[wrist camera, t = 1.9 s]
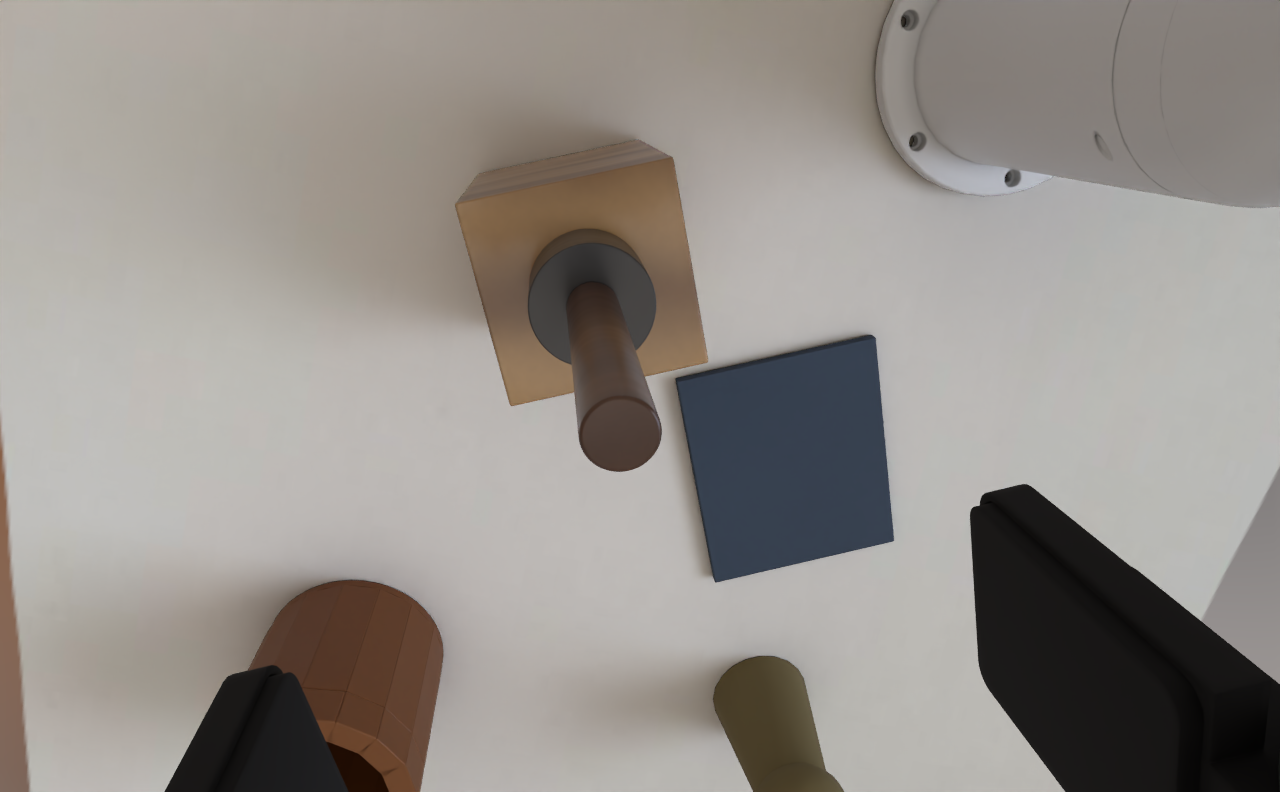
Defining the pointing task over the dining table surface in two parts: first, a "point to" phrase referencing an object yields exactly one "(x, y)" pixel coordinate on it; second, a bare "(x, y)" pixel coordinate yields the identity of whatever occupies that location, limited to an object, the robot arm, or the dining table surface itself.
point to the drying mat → (789, 457)
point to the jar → (363, 677)
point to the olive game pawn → (772, 727)
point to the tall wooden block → (570, 200)
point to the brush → (599, 340)
